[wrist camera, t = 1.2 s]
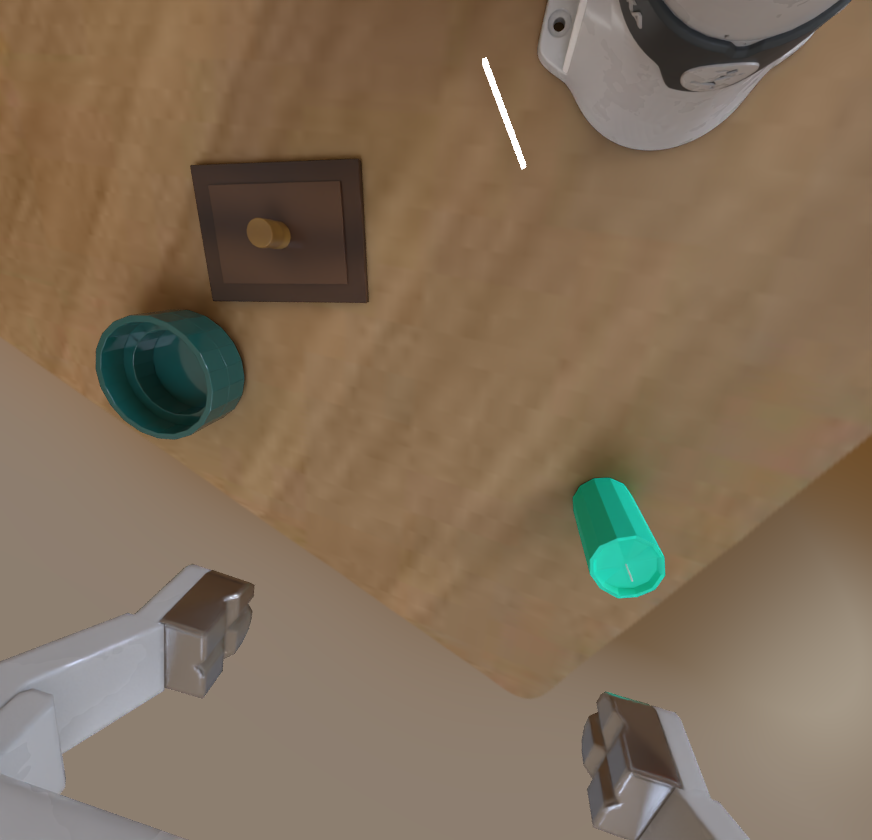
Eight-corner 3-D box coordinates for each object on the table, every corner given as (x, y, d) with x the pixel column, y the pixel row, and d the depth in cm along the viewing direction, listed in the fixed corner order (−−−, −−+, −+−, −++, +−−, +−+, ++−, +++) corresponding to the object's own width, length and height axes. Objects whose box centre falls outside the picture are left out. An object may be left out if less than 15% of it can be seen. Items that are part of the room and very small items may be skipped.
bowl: (132, 308, 46) (80, 314, 41) (237, 309, 45) (199, 316, 39) (156, 416, 51) (113, 435, 45) (254, 422, 49) (221, 442, 43)
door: (195, 167, 41) (160, 156, 37) (361, 160, 38) (343, 148, 34) (217, 300, 45) (188, 304, 41) (368, 302, 42) (353, 306, 38)
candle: (623, 532, 46) (660, 618, 35) (566, 521, 47) (584, 602, 36) (639, 482, 44) (684, 557, 33) (579, 472, 45) (603, 541, 34)
